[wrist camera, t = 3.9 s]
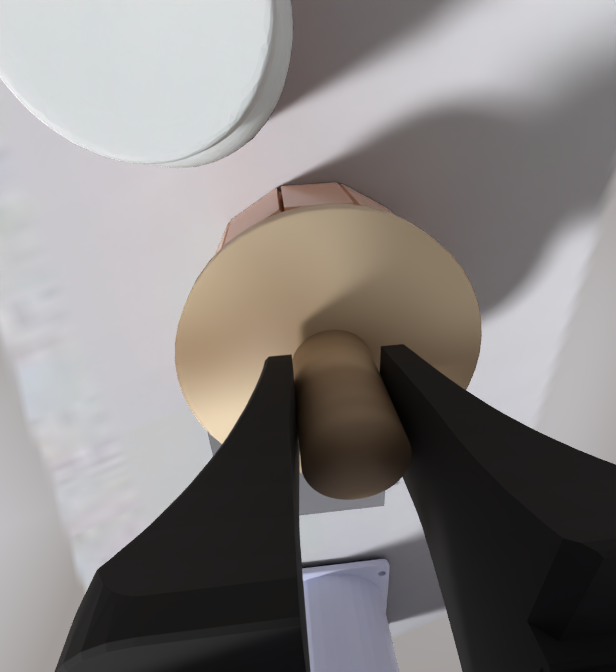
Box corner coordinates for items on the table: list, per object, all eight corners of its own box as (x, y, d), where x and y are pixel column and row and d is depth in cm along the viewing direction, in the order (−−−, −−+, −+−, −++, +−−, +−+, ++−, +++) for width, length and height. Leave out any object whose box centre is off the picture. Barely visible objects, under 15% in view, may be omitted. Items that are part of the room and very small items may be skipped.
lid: (450, 444, 15) (515, 563, 11) (206, 468, 15) (185, 602, 11) (493, 192, 11) (625, 242, 7) (148, 214, 10) (75, 281, 6)
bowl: (405, 362, 19) (428, 408, 16) (227, 379, 18) (221, 429, 16) (420, 176, 15) (456, 194, 12) (193, 192, 14) (176, 215, 12)
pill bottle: (293, -28, 12) (341, -226, 4) (271, 152, 14) (278, 214, 7) (116, -74, 11) (-177, -407, 4) (123, 126, 13) (-47, 161, 6)
